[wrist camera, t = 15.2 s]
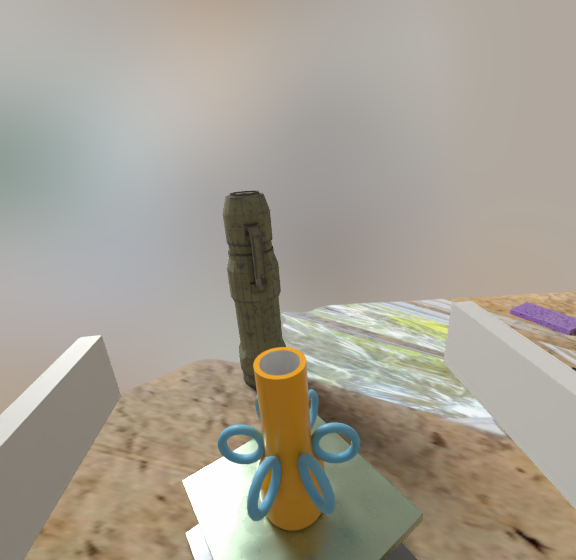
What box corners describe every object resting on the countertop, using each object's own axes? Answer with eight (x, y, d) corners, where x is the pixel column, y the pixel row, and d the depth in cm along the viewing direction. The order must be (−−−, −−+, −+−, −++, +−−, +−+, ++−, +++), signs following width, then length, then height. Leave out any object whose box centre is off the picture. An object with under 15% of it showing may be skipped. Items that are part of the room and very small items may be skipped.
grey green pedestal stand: (188, 541, 35) (169, 478, 32) (313, 454, 44) (309, 398, 41) (272, 785, 21) (256, 721, 17) (430, 584, 30) (440, 515, 27)
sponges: (568, 337, 67) (570, 329, 67) (508, 314, 78) (509, 308, 77) (585, 328, 70) (588, 321, 69) (525, 307, 81) (526, 301, 80)
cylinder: (384, 523, 26) (392, 377, 21) (276, 612, 22) (250, 455, 16) (304, 427, 36) (295, 312, 31) (218, 474, 32) (191, 348, 26)
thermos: (275, 352, 69) (258, 188, 56) (298, 384, 59) (284, 191, 46) (236, 365, 66) (209, 193, 53) (253, 400, 55) (225, 198, 43)
